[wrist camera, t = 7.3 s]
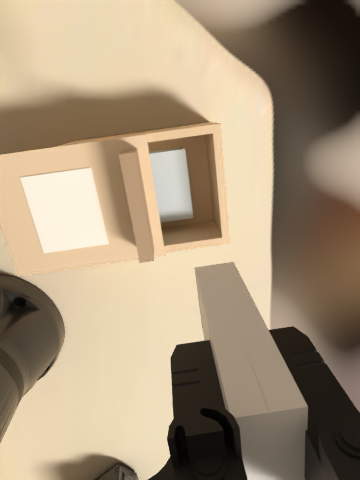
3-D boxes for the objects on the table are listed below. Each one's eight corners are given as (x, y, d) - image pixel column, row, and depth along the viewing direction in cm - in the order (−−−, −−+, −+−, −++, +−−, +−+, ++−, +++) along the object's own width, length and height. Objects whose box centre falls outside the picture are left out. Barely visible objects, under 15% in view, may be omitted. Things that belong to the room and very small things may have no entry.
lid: (20, 273, 31) (3, 292, 28) (-20, 157, 27) (-46, 163, 24) (165, 252, 31) (165, 269, 28) (146, 133, 27) (144, 136, 24)
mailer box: (97, 241, 37) (86, 263, 31) (73, 141, 33) (55, 146, 27) (219, 223, 37) (229, 243, 31) (210, 122, 33) (220, 123, 27)
